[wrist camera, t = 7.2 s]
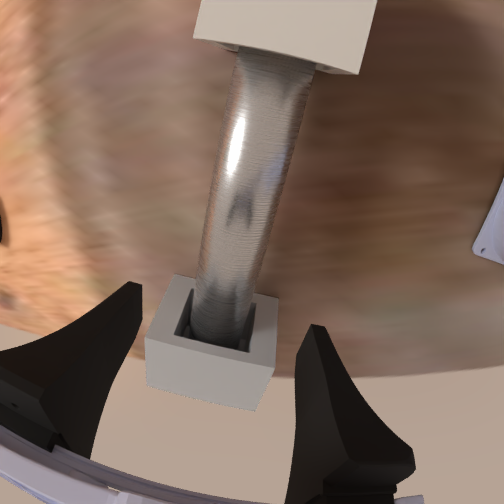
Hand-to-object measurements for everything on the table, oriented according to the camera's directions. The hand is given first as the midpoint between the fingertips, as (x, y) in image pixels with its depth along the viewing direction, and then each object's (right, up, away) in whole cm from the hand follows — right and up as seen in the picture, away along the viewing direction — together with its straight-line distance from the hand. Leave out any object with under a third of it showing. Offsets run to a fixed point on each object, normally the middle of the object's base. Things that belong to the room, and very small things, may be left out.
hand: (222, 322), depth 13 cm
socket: (-1, -2, +12) cm, 13 cm away
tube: (+1, +6, +5) cm, 8 cm away
